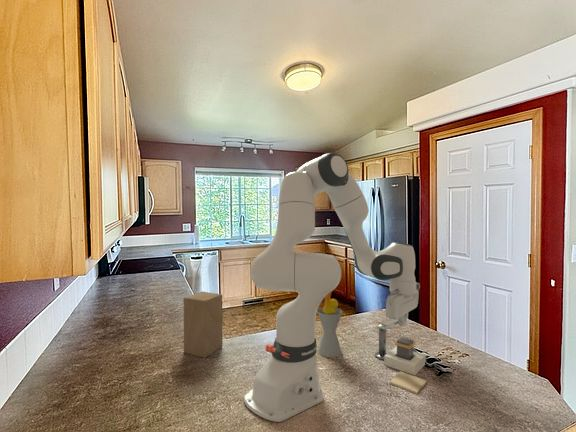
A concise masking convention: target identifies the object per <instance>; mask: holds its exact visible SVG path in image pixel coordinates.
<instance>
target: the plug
mask: <svg viewBox="0 0 576 432" xmlns="http://www.w3.org/2000/svg"><path fill="white" fill-rule="evenodd" d="M394 345H395V346H397V357H400V358H403V359H406V360H411V359H412V358H413V355H414V346H416V342H415V341H414V340H413V339H409V338H406V337H403V336H400V338H399V339H397V340H396V341H395V343H394Z"/></svg>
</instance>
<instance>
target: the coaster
mask: <svg viewBox="0 0 576 432" xmlns="http://www.w3.org/2000/svg"><path fill="white" fill-rule="evenodd" d="M427 382H428V381H427V380H426V379H424V378H420V377H418V376H416V375H412V374H409V373H406V372H403V371H400V370H399V372H398V373H397V374H396V375H395V376H393V378H391V380H390V381H389V384H390V385H393V386H396V387H398V388H400V389H403V390H405V391H408V392H410V393H413V394H416V395H418V394H419V392H420V391H421V390H422V389H423V388H424V386H425V385H426V384H427Z"/></svg>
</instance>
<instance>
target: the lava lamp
mask: <svg viewBox="0 0 576 432" xmlns="http://www.w3.org/2000/svg"><path fill="white" fill-rule="evenodd" d="M330 255H331V256H334V254H330ZM333 291H334V290H332V291H331V292H329V293H328V294H327V295H326V296H325V297H324V305H323V306H322V307H318V310H317V314H318V318H319V321H320V323H321V326H322V329H323V331H322V332H323V333H322V335H321V339H320V342H319V345H318V348H317V353H318V354H319V355H321V356H323V357H326V358H337V357H340V355H342V349H341V345H340V342H339V338H338V335H337V332H336V331H337V328H338V325H339V323H340V321H341V316H342V315H343V310H342V309H341V308H339V307H338V306H339V302H338V300H337V299H335V298H331V296H332V293H333Z"/></svg>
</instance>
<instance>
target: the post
mask: <svg viewBox="0 0 576 432" xmlns="http://www.w3.org/2000/svg"><path fill="white" fill-rule="evenodd" d="M387 353H388V352H387V329H386V330H381V329H378V351H376V352H375V353H374V358H376V359H378V360H381V361H384V356H385V355H386V354H387Z"/></svg>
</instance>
